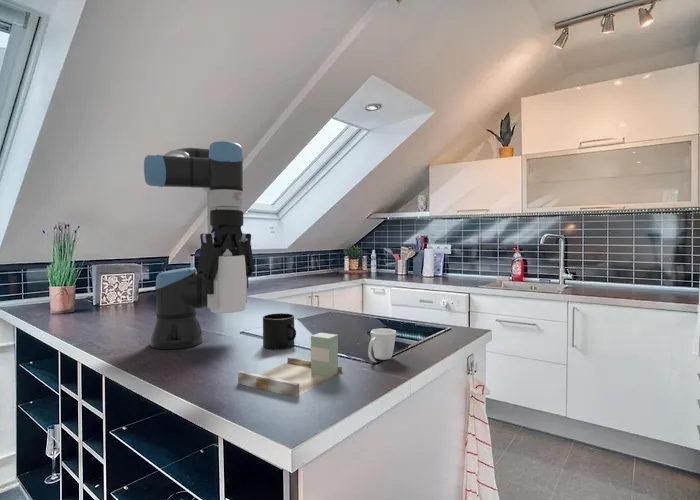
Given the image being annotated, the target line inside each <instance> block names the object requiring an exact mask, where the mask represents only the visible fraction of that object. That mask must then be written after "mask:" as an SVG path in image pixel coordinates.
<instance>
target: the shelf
mask: <svg viewBox="0 0 700 500" xmlns="http://www.w3.org/2000/svg"><path fill="white" fill-rule="evenodd" d="M340 373H343V367H342V366H340V365H338V373H336V374H334V375H332V376H330V377H325V376H320V375H315V374H311V360H309V359H307V360H306V359H304V358H303V359H302V358H297V357H291V356H288V357H287V362H285V363H283V364H280V365H278V366H276V367H273V368H271V369H269V370H266V371H264V372H262V373H259V374H258V373H253V372H249V371H243V370H240V371H238V372H237V376H238V377H237V381H238V382H237V383H238V385H242V386H248V387H252V388H256V389H259V390H263V391H268V392H271V393H277V394H279V395H285V396H289V397H293V398H299V397H301V395H303V394H305V393H307V392H309V391H310V390H312V389H314V388H315V387H318V386H319V385H321V384H323V383H324V382H326V381H328V380H330V379H333V377H335V376H337V375H339V374H340Z"/></svg>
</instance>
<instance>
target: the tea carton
mask: <svg viewBox="0 0 700 500" xmlns="http://www.w3.org/2000/svg"><path fill="white" fill-rule="evenodd" d="M338 337H339V334H336V333H335V334H334V333H326V332H318V333H315V334H313V335H310V361H311V374H315V375H320V376H325V377H330V376H332V375H334V374H336V373H338V366H339V338H338Z"/></svg>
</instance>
